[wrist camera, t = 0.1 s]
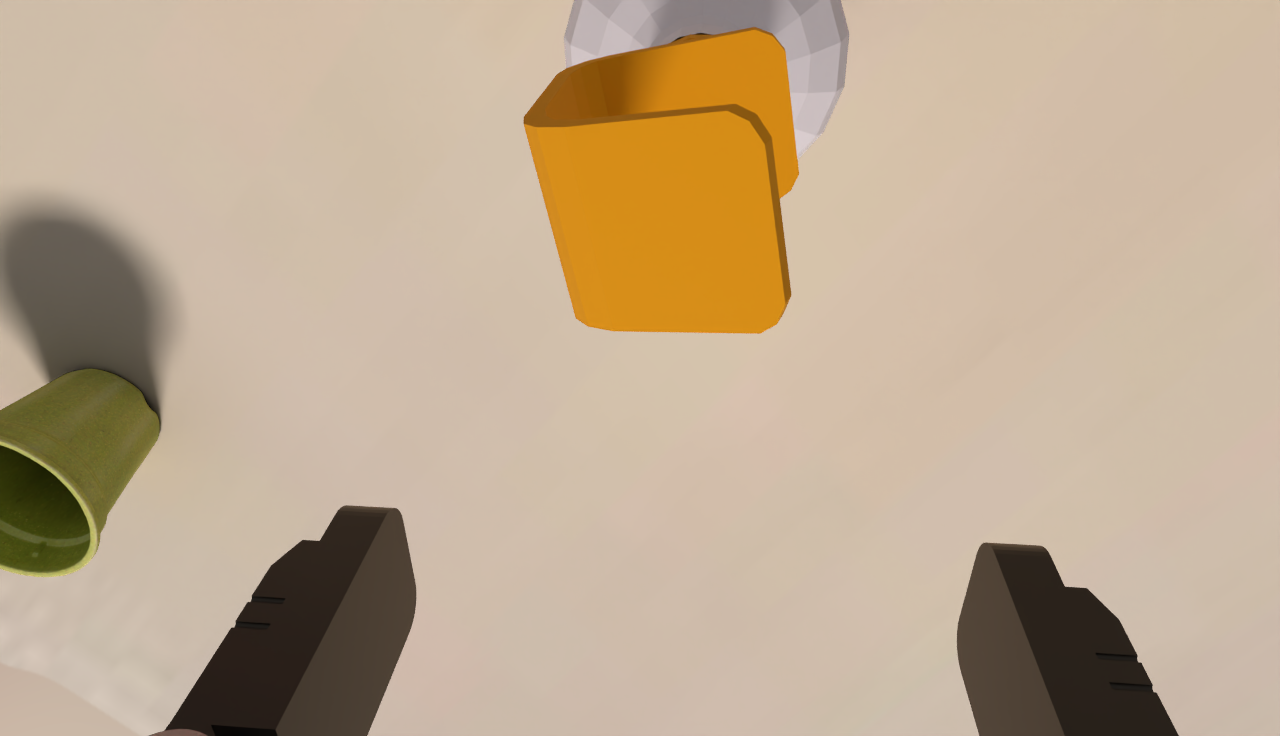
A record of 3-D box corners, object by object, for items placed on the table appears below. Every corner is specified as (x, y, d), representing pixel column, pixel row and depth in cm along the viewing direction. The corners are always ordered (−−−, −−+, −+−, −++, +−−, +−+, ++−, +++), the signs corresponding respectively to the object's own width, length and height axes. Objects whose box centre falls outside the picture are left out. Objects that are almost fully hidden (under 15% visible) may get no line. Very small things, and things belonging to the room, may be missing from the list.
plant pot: (176, 497, 52) (85, 602, 45) (22, 436, 51) (-98, 535, 44) (203, 385, 48) (107, 482, 40) (34, 315, 46) (-98, 402, 39)
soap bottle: (829, 101, 37) (966, 426, 16) (625, 138, 38) (503, 476, 17) (809, -134, 32) (960, -116, 11) (579, -82, 34) (341, 18, 13)
